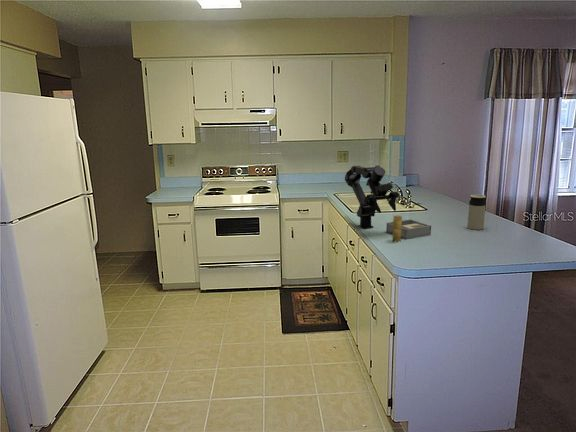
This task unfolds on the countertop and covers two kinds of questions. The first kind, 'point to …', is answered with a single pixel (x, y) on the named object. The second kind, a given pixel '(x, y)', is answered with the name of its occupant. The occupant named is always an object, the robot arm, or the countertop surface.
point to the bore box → (411, 229)
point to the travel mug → (476, 212)
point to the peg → (397, 228)
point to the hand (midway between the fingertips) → (387, 211)
